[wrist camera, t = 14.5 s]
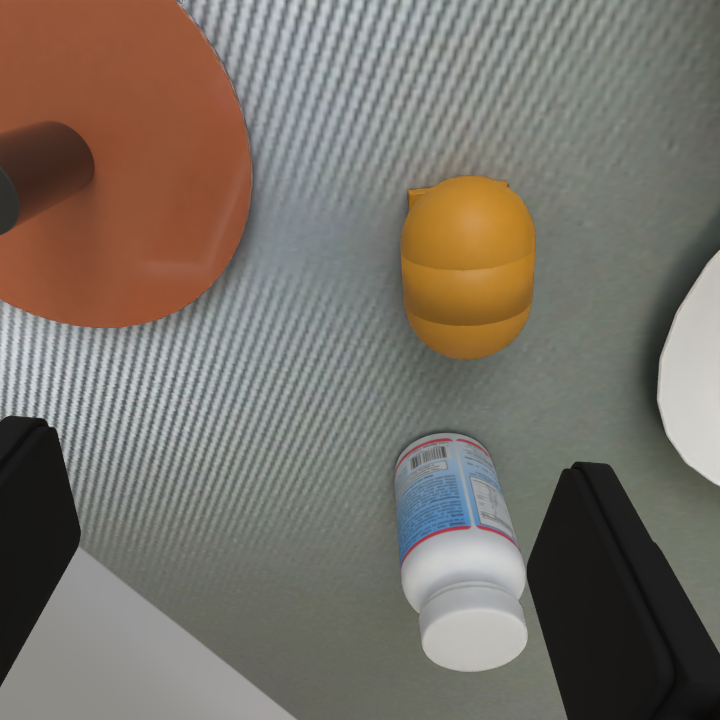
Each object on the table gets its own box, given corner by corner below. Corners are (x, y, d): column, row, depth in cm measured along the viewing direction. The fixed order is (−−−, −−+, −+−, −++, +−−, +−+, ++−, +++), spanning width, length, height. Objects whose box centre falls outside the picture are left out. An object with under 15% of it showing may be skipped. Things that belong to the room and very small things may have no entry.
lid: (-218, -51, 21) (-459, -84, 15) (205, -109, 20) (133, -171, 14) (-21, 331, 29) (-124, 410, 23) (284, 304, 28) (261, 379, 22)
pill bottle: (390, 502, 35) (399, 680, 26) (396, 426, 32) (409, 596, 22) (485, 505, 35) (530, 684, 26) (500, 429, 32) (557, 600, 22)
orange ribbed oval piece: (393, 168, 25) (399, 203, 20) (519, 155, 24) (558, 187, 19) (404, 326, 29) (411, 388, 24) (512, 317, 28) (543, 378, 23)
